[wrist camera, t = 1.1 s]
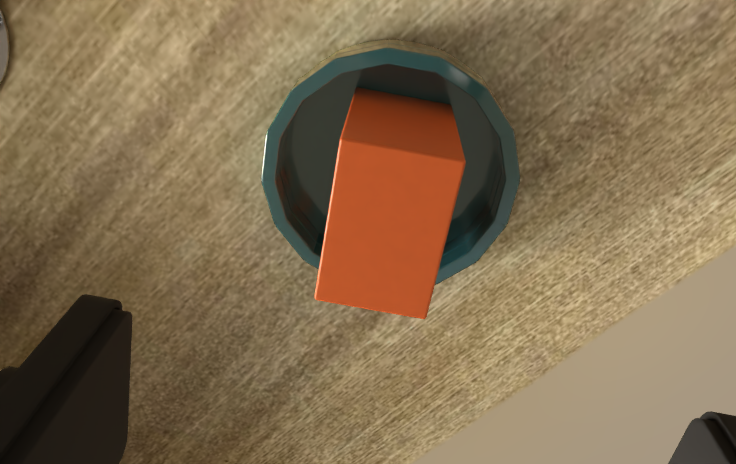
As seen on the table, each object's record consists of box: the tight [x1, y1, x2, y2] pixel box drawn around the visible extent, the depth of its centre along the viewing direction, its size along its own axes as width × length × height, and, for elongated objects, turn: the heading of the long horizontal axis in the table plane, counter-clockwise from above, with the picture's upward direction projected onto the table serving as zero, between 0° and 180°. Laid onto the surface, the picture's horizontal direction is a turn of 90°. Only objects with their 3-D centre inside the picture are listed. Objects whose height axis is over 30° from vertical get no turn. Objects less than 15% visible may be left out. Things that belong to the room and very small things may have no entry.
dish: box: [261, 39, 520, 285], centre depth 27 cm, size 10×10×2 cm
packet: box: [314, 87, 466, 319], centre depth 24 cm, size 4×6×7 cm, turn 170°
